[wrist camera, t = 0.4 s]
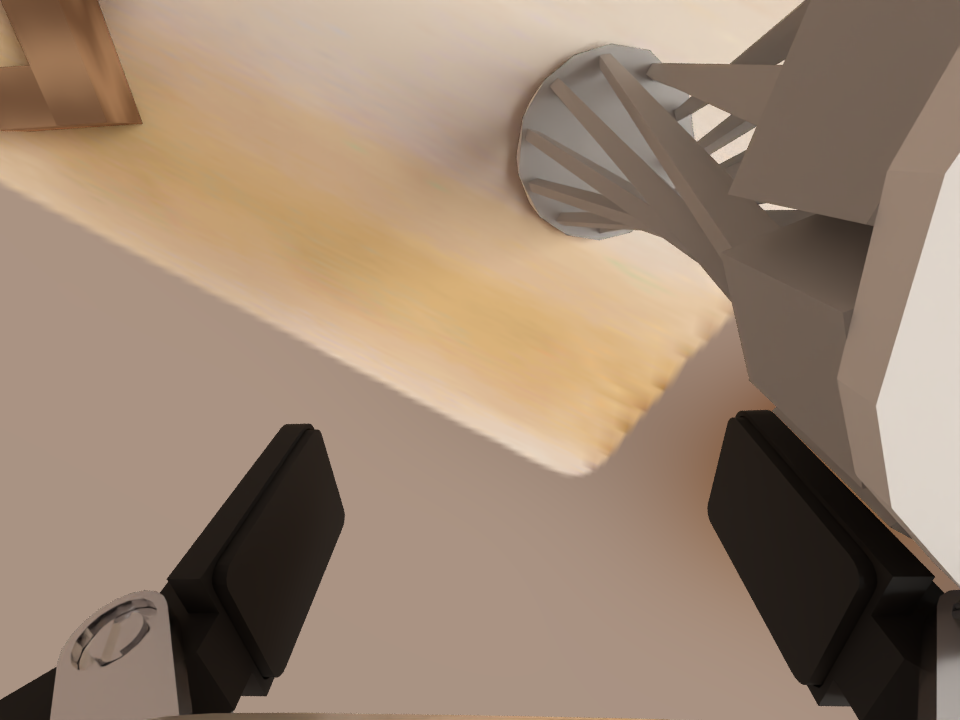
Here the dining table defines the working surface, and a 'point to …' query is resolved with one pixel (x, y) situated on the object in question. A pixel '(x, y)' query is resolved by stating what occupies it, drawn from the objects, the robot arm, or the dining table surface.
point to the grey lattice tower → (799, 224)
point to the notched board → (63, 69)
